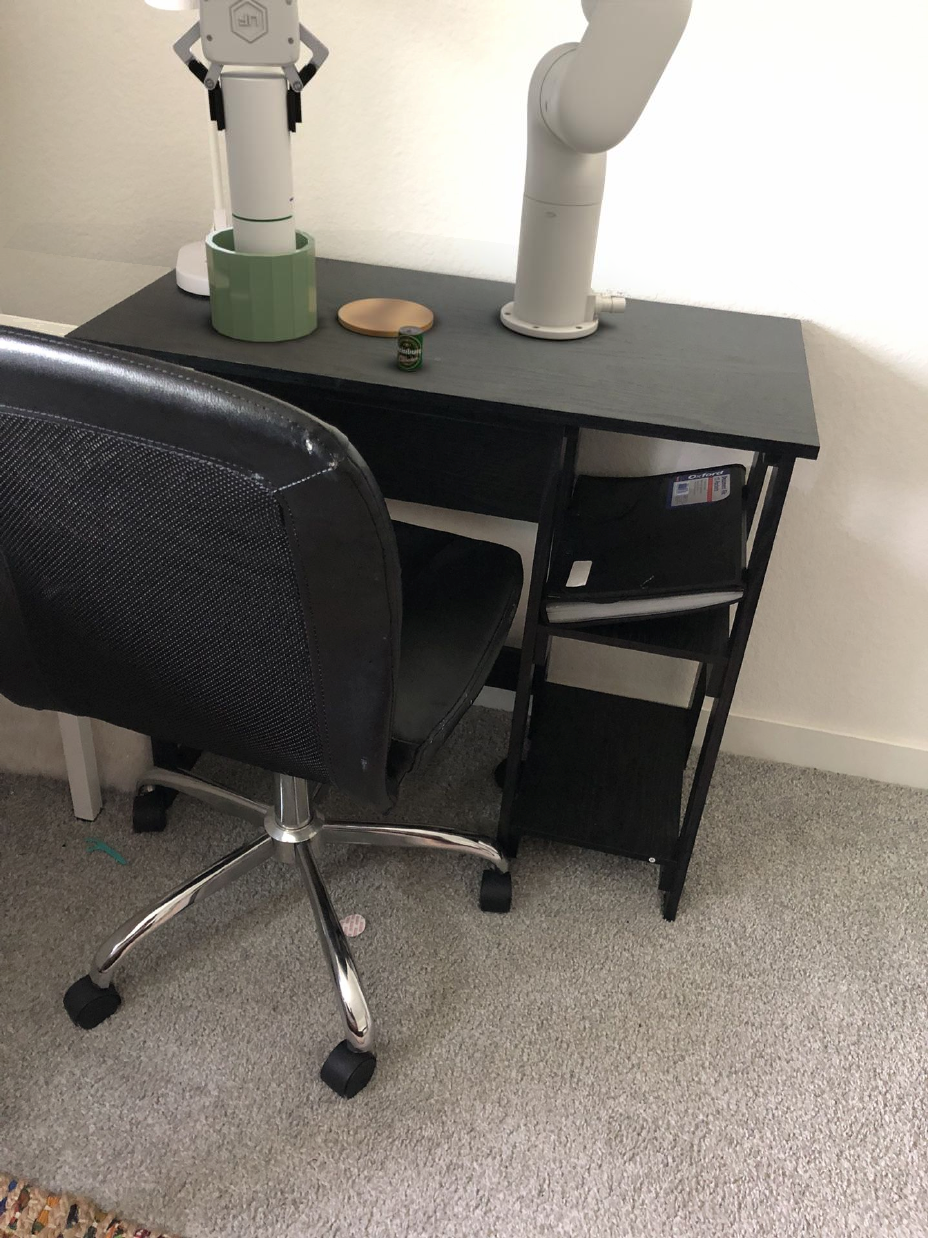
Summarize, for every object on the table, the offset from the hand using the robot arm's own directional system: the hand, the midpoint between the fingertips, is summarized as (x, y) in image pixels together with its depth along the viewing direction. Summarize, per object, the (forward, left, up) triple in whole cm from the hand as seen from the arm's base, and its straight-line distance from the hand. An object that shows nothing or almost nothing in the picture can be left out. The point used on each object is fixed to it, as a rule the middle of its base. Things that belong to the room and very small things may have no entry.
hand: (257, 127), depth 111 cm
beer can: (-16, +14, -22) cm, 31 cm away
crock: (0, 0, -22) cm, 22 cm away
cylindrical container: (0, 0, -20) cm, 20 cm away
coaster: (-15, -1, -22) cm, 26 cm away
